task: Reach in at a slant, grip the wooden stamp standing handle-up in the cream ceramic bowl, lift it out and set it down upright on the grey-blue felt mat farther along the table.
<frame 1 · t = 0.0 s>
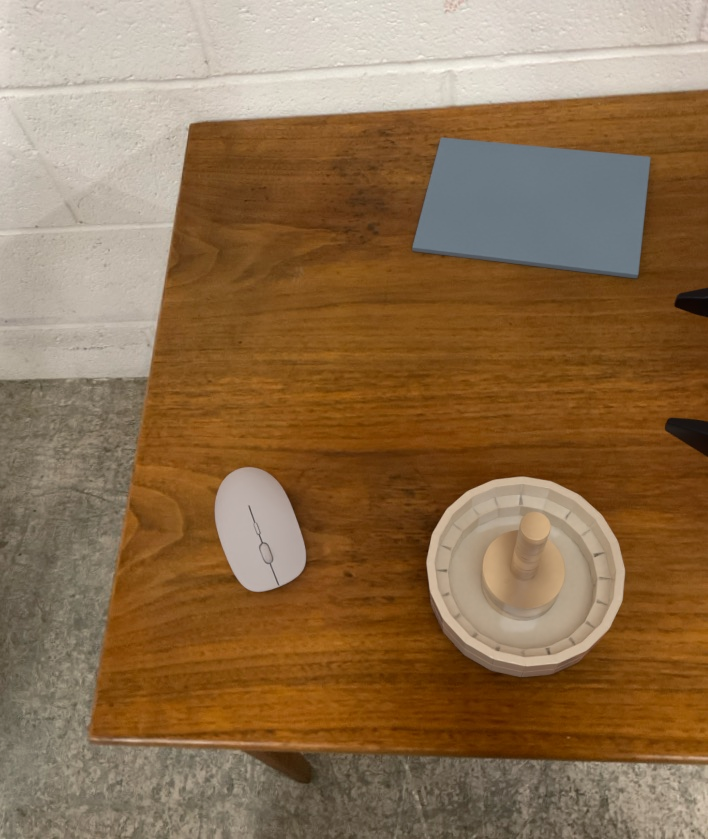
hand: (671, 359, 50), 14 cm above the table, tool horizontal, fingers open, 9 cm apart
wooden stamp: (519, 582, 58), resting on bowl
computer mouse: (262, 533, 63), on the table
bowl: (519, 584, 59), on the table
mat: (532, 205, 75), on the table
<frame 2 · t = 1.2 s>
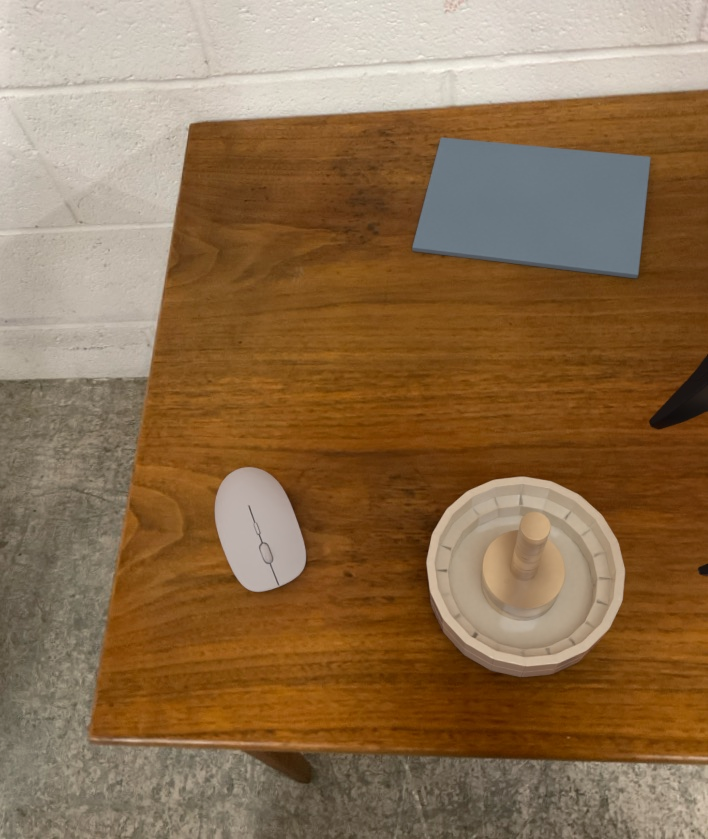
hand: (676, 495, 46), 14 cm above the table, tool tilted 45°, fingers open, 9 cm apart
nothing on the table moved.
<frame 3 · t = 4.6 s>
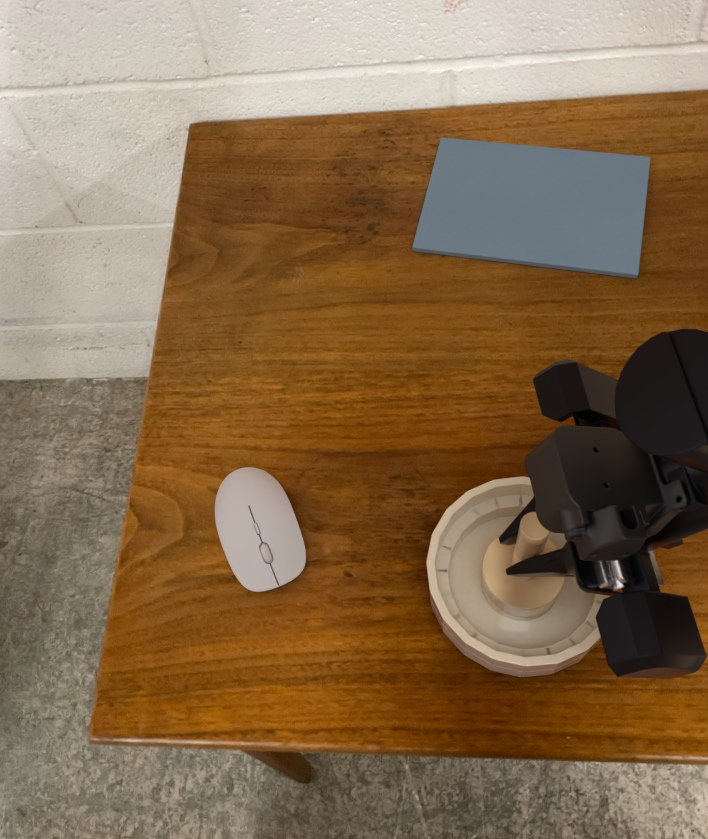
hand: (506, 557, 52), 7 cm above the table, tool tilted 45°, fingers closed on wooden stamp
wooden stamp: (519, 582, 58), point 1 cm above the table, touching bowl, gripper
everything else where it was.
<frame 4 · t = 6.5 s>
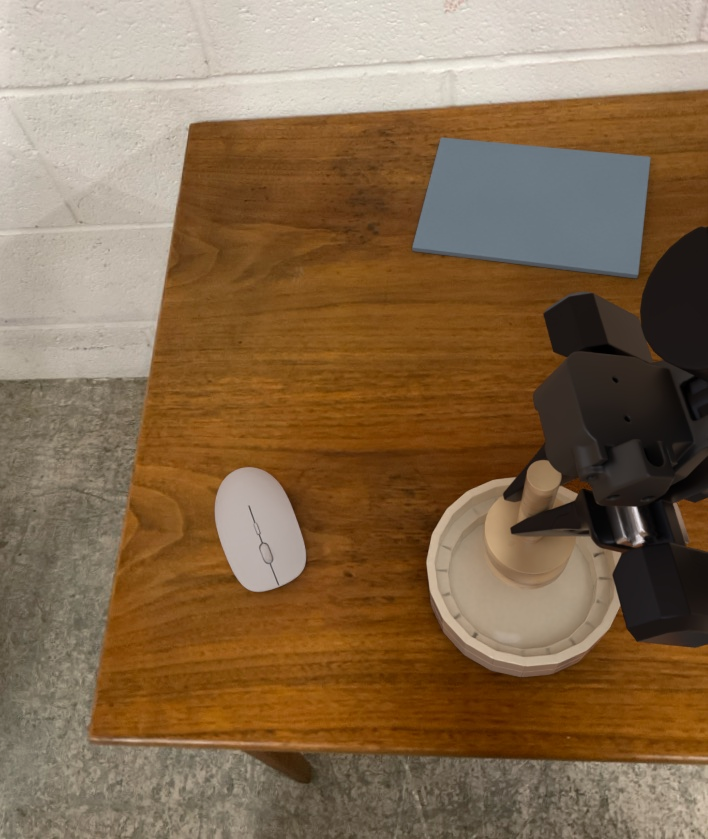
hand: (511, 515, 47), 13 cm above the table, tool tilted 45°, fingers closed on wooden stamp
wooden stamp: (525, 547, 53), point 7 cm above the table, touching gripper
everything else where it was.
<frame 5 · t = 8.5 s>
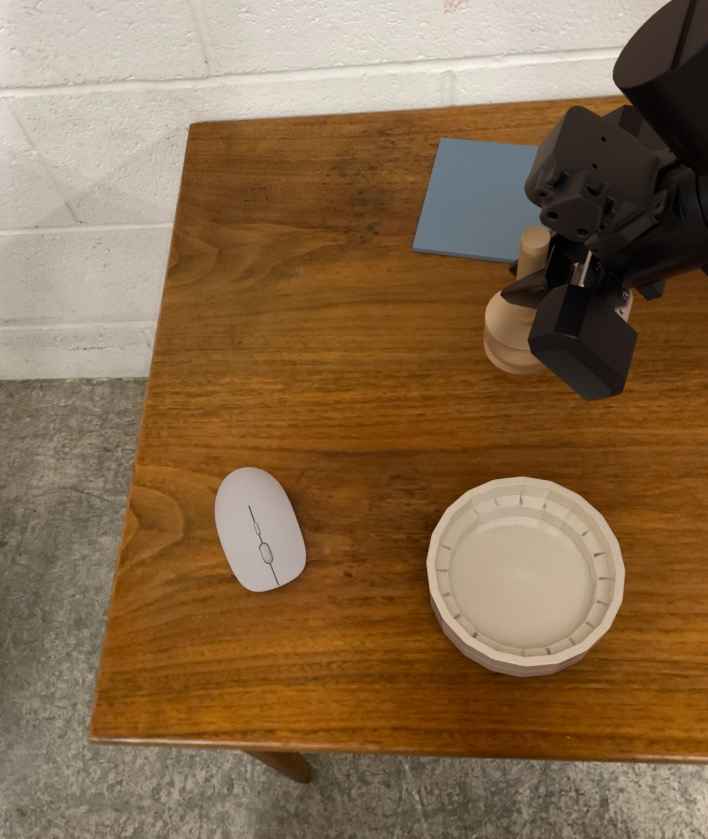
hand: (509, 284, 55), 13 cm above the table, tool tilted 45°, fingers closed on wooden stamp
wooden stamp: (521, 342, 60), point 7 cm above the table, touching gripper
everything else where it was.
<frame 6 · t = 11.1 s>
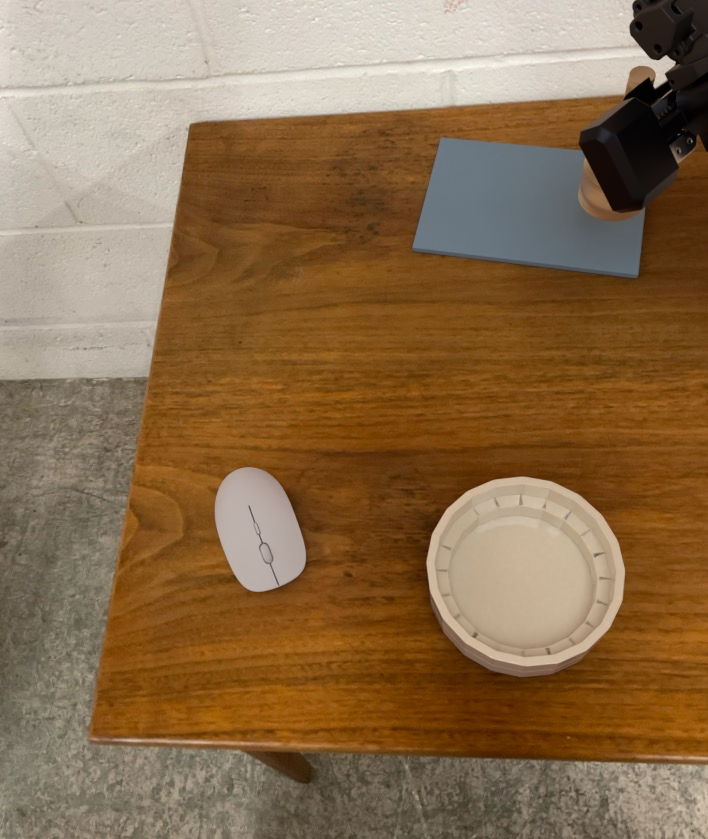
hand: (613, 126, 61), 13 cm above the table, tool tilted 45°, fingers closed on wooden stamp
wooden stamp: (612, 195, 67), point 6 cm above the table, touching gripper
everything else where it was.
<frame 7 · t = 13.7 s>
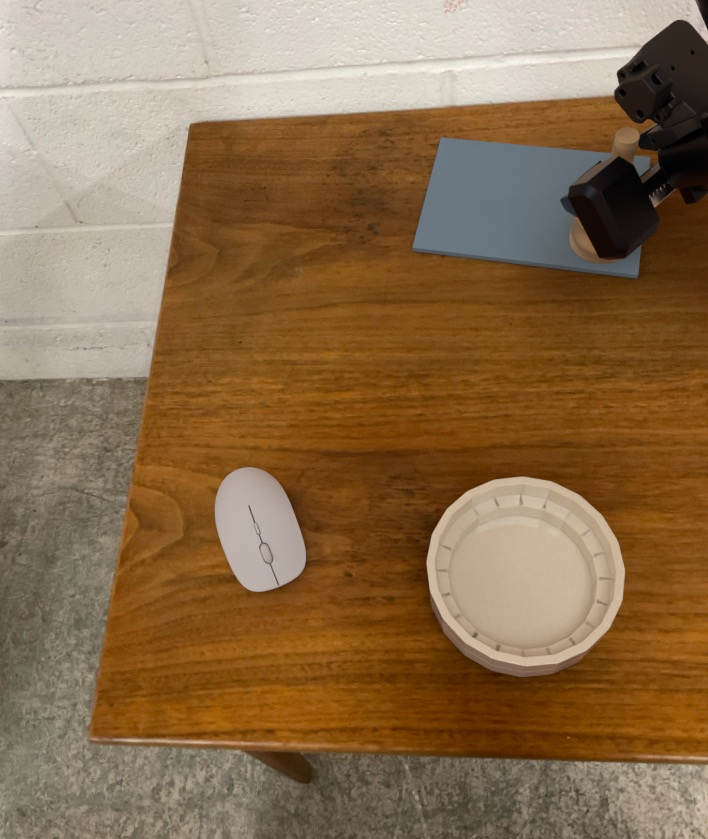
hand: (601, 172, 66), 8 cm above the table, tool tilted 45°, fingers open, 9 cm apart
wooden stamp: (601, 239, 72), point 1 cm above the table, touching mat
everything else where it was.
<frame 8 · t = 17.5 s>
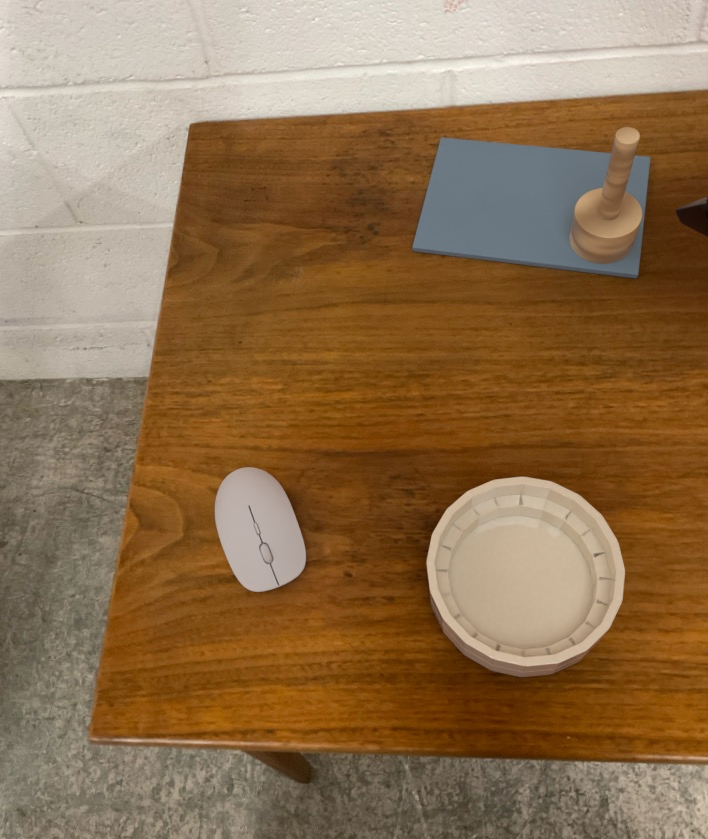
nothing on the table moved.
at the end: wooden stamp inside the target area on the mat (7.4 cm from its centre), point 0.6 cm above the mat's base; wooden stamp touching mat; wooden stamp tilted 0° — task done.
